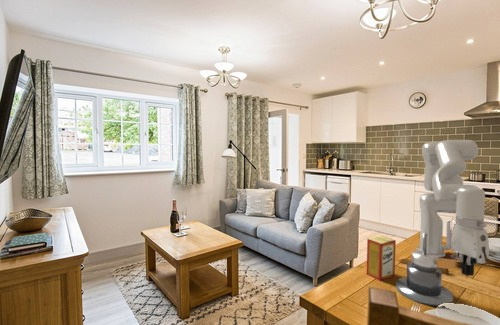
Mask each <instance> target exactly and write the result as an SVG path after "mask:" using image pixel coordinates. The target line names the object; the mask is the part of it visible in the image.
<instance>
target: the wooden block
mask: <svg viewBox="0 0 500 325" xmlns="http://www.w3.org/2000/svg"><path fill="white" fill-rule="evenodd" d="M426 250H427V233H423V251H422V250H412V251H411V261H412V266H413V267H414V268H416V269H418V270H421V271H425V272H436V271H437V267H439V268H447V269H448V270H455V271H462V262H461V261H460V259H451V258H444V257H441V258H437V255H435V254H433V253H431V252H427V251H426Z"/></svg>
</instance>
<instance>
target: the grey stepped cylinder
mask: <svg viewBox="0 0 500 325" xmlns="http://www.w3.org/2000/svg"><path fill="white" fill-rule="evenodd" d="M442 275H443V273H442V271H441V270H440V269H439V268H438V267H437V271H436V272H425V271H421V270H418V269H416V268H414V267H413V266H412V262H409V263H408V264H406V277H404V276H403V277H400V278H399V279H397V280H396V282H395V288H396V290H397V291H398V293H400V294H401V295H402V296H404V297H405V298H406V299H408V300H411V301H413V302H416V303H418V304H422V305H426V306H430V307H439V306H438V305H440V304H443V303H452V304H454V303H453V302H454V294H453V293H452V292H451V291H450V290H449V289H448V288H446V287H445V286H444V285H442V278H443V276H442Z"/></svg>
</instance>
